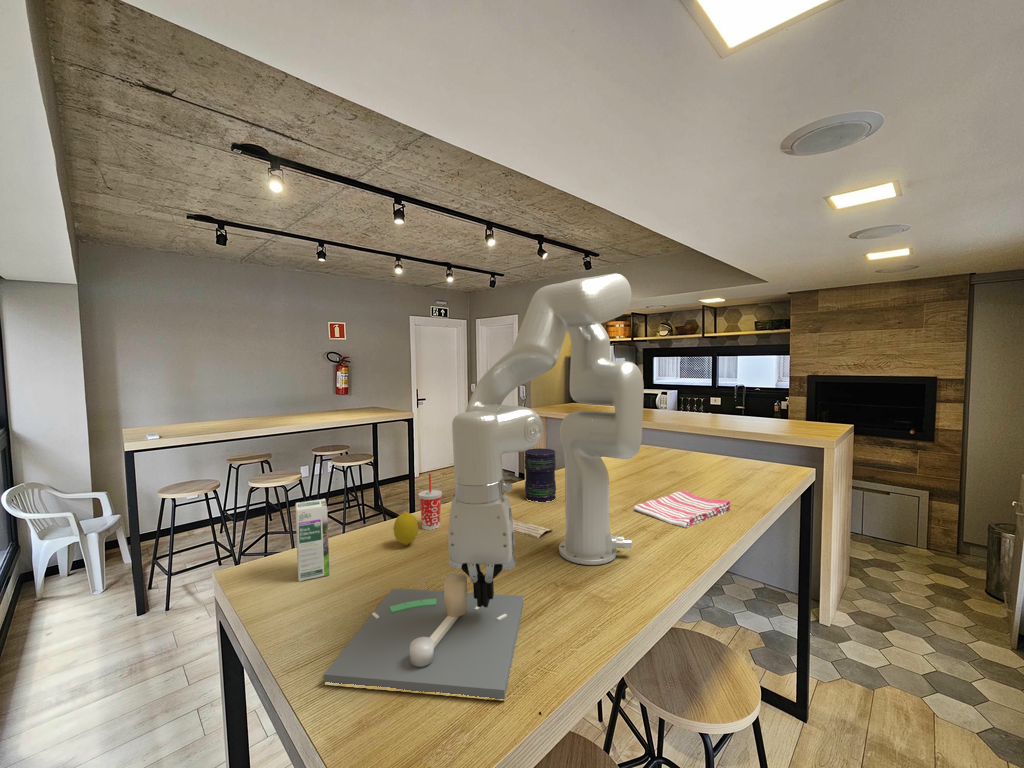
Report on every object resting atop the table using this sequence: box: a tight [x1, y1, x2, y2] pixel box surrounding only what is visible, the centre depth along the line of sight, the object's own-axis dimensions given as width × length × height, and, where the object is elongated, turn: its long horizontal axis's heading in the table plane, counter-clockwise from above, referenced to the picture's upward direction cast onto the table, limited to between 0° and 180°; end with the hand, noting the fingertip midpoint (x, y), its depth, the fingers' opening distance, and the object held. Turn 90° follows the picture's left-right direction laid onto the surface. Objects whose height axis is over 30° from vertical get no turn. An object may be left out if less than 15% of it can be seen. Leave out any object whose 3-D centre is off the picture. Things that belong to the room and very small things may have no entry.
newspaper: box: [513, 519, 553, 540], centre depth 113 cm, size 24×7×2 cm, turn 51°
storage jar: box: [524, 448, 557, 502], centre depth 135 cm, size 10×10×15 cm
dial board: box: [323, 588, 524, 700], centre depth 65 cm, size 24×22×2 cm
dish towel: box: [633, 489, 731, 529], centre depth 122 cm, size 17×23×4 cm
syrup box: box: [294, 498, 330, 583], centre depth 87 cm, size 6×6×14 cm
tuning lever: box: [410, 572, 468, 667], centre depth 64 cm, size 15×4×6 cm, turn 161°
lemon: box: [393, 511, 419, 547], centre depth 100 cm, size 6×6×8 cm
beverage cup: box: [418, 473, 443, 531], centre depth 112 cm, size 6×6×14 cm
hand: (484, 602), depth 69 cm, fingers closed
